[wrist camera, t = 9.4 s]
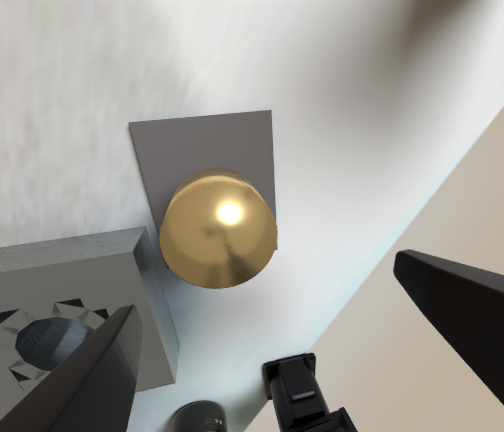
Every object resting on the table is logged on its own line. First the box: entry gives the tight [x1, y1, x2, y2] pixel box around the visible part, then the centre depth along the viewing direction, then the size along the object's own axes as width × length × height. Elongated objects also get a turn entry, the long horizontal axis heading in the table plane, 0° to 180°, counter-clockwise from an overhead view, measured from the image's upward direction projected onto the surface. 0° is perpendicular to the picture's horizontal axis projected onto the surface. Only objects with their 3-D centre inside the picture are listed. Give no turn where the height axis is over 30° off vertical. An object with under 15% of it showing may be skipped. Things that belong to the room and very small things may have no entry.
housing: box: [0, 227, 179, 420], centre depth 20 cm, size 14×14×4 cm
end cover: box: [160, 168, 277, 289], centre depth 16 cm, size 6×6×8 cm
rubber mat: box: [129, 110, 277, 269], centre depth 20 cm, size 12×10×1 cm
